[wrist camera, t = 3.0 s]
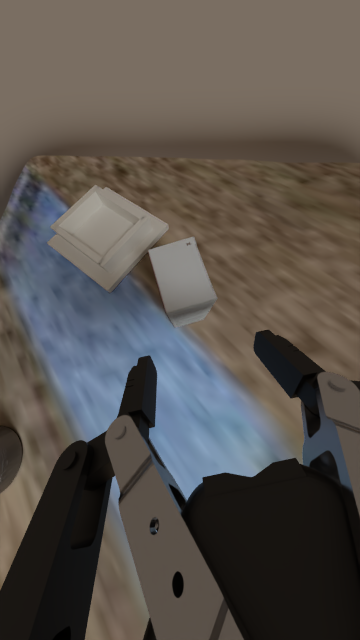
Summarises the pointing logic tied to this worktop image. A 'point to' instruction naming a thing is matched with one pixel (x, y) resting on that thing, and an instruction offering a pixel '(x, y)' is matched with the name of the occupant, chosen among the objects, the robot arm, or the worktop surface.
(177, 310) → the small box
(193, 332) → the worktop surface
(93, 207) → the off-white tray
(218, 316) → the worktop surface
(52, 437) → the worktop surface
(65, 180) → the worktop surface
